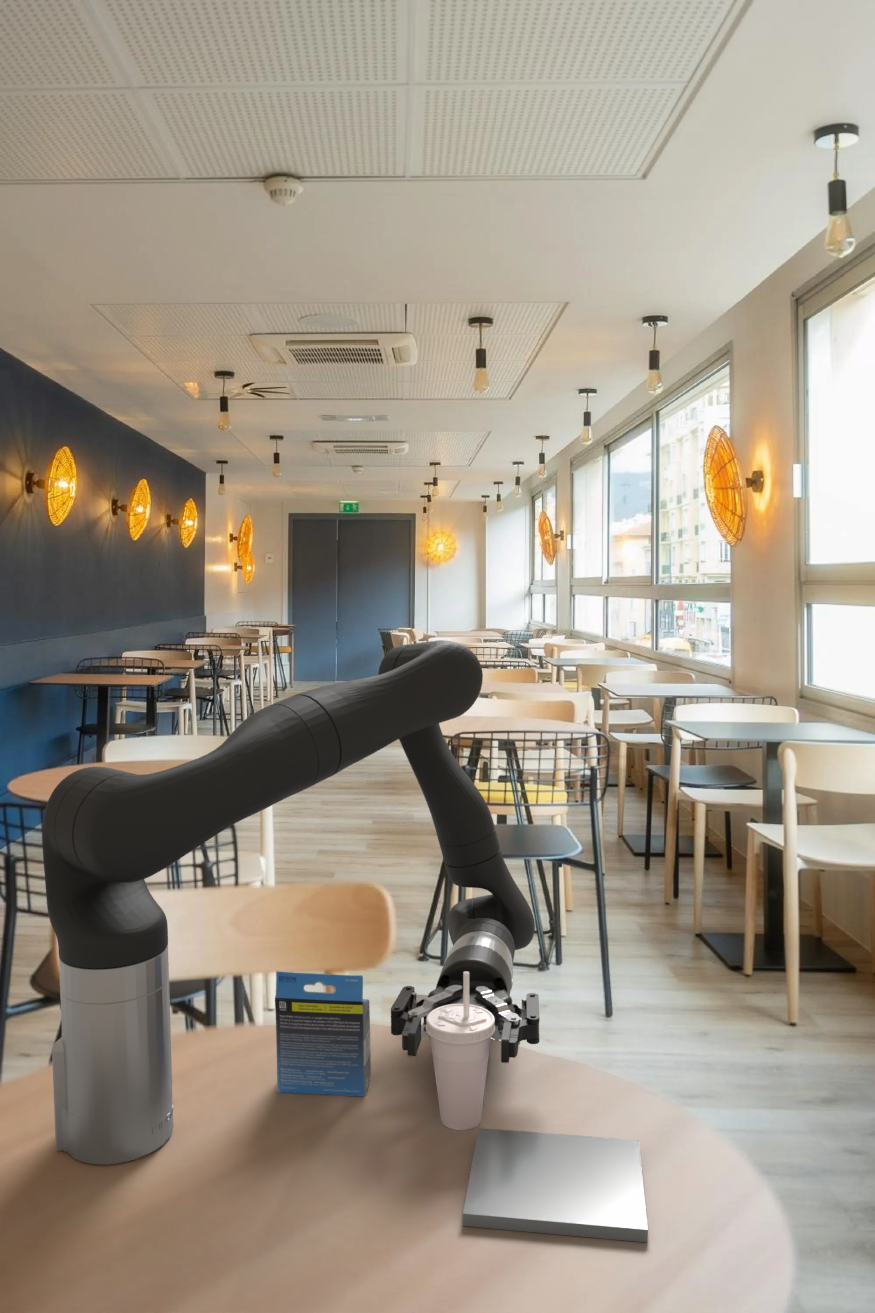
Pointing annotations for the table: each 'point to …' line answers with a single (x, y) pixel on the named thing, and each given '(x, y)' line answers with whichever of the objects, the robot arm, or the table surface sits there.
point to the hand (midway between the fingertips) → (457, 1049)
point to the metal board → (557, 1185)
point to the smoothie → (460, 1059)
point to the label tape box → (322, 1035)
